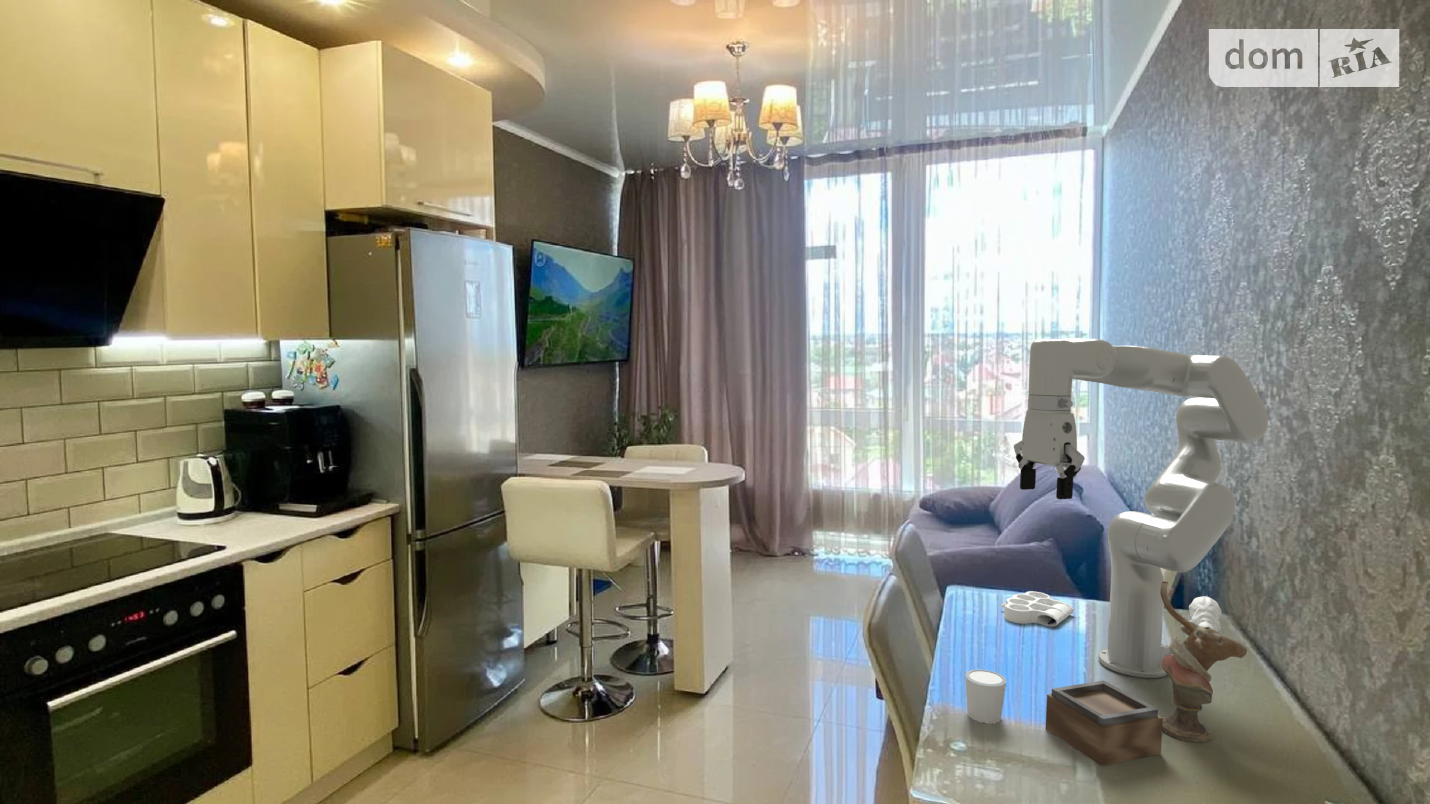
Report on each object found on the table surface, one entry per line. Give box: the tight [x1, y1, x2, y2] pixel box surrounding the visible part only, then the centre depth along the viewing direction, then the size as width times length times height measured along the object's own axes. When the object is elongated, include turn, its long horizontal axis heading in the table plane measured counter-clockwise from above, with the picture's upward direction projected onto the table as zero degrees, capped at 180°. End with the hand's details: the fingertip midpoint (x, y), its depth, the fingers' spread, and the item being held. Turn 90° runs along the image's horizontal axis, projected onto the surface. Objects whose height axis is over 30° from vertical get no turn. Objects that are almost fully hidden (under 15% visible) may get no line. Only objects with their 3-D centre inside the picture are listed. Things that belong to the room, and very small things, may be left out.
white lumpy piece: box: [1188, 595, 1222, 633], centre depth 171 cm, size 6×8×12 cm
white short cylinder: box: [964, 669, 1007, 724], centre depth 134 cm, size 7×7×7 cm
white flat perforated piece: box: [999, 590, 1074, 627], centre depth 186 cm, size 3×18×15 cm
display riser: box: [1045, 680, 1164, 767], centre depth 126 cm, size 12×12×7 cm
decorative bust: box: [1160, 581, 1248, 743], centre depth 129 cm, size 11×13×25 cm
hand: (1045, 493), depth 146 cm, fingers open, 9 cm apart
